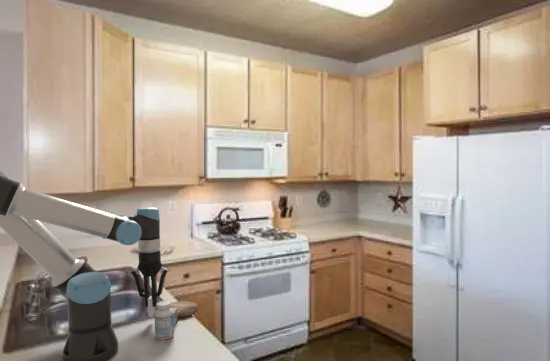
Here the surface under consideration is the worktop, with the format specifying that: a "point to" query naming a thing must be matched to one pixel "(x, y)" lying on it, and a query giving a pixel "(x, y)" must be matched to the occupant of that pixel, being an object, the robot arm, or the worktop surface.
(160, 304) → the pill bottle
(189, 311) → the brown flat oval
